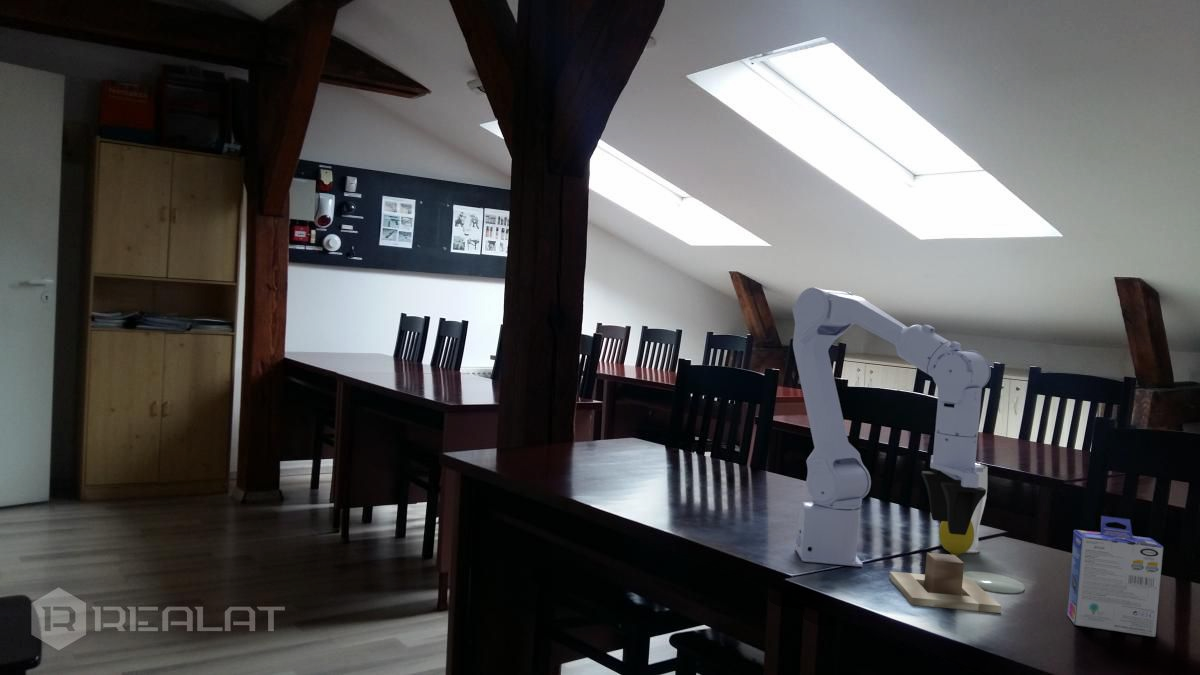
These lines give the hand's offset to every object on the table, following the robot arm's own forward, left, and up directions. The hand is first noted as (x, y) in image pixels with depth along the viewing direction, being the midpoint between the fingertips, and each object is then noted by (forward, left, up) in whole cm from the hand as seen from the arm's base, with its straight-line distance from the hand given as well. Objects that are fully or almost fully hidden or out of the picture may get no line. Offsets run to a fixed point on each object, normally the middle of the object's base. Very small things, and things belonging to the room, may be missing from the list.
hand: (948, 527), depth 124 cm
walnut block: (0, 0, -10) cm, 10 cm away
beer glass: (+12, +28, -10) cm, 32 cm away
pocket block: (0, 0, -10) cm, 10 cm away
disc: (+10, +8, -10) cm, 16 cm away
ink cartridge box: (+20, -7, -10) cm, 23 cm away
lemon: (+9, +22, -10) cm, 26 cm away
